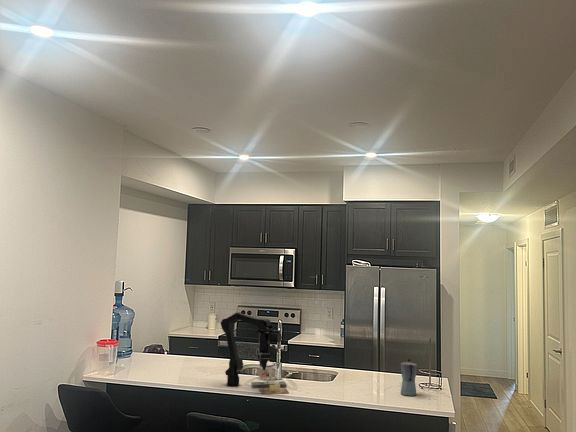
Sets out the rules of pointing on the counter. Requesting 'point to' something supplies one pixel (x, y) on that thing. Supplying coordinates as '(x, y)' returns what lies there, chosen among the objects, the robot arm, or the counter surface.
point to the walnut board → (266, 391)
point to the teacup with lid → (267, 371)
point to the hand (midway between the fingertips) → (262, 368)
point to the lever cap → (273, 387)
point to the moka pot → (408, 378)
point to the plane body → (265, 384)
